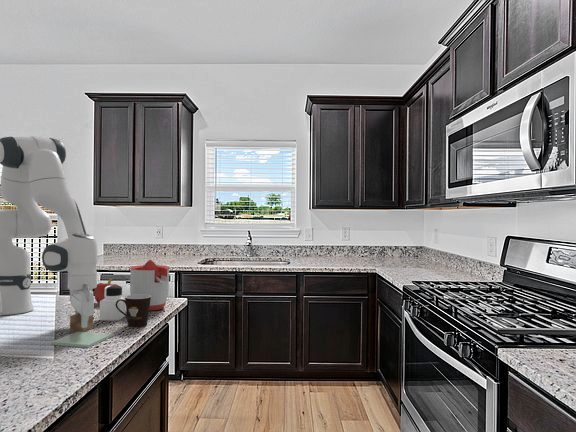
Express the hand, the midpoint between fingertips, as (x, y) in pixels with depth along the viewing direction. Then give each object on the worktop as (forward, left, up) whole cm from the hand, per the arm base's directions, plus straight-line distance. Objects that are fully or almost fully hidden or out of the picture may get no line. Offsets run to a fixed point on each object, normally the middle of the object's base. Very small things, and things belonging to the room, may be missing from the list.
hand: (81, 324), depth 150 cm
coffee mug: (+13, +11, -2) cm, 17 cm away
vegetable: (-16, +41, -2) cm, 44 cm away
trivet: (+8, -11, -2) cm, 14 cm away
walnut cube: (0, 0, -2) cm, 2 cm away
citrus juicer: (+6, +36, -2) cm, 37 cm away
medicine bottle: (+1, +17, -2) cm, 17 cm away
